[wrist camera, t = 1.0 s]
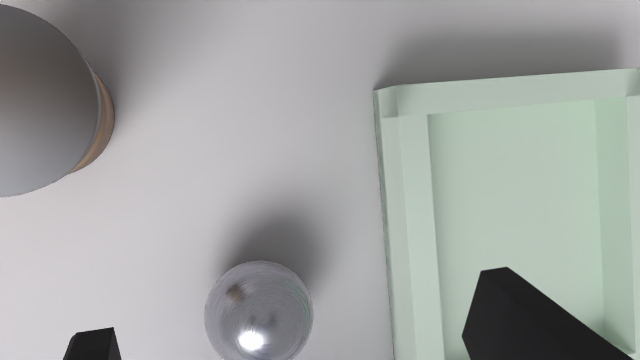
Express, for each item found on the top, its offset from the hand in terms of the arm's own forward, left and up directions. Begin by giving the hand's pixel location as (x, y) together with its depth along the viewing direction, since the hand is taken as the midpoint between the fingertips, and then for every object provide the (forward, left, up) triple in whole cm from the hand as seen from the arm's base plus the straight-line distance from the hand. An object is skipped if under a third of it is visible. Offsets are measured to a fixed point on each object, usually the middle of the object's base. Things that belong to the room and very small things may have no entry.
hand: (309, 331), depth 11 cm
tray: (-2, -12, -12) cm, 17 cm away
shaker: (+5, +6, -12) cm, 14 cm away
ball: (-3, 0, -12) cm, 12 cm away
